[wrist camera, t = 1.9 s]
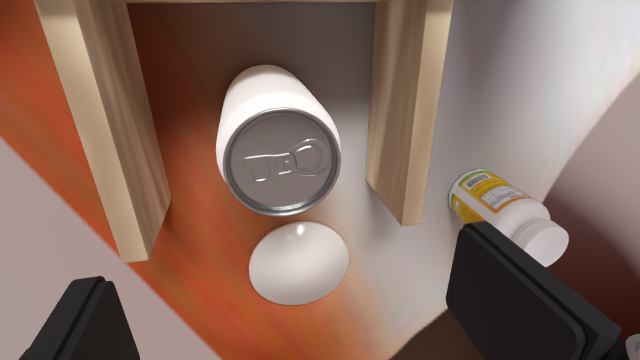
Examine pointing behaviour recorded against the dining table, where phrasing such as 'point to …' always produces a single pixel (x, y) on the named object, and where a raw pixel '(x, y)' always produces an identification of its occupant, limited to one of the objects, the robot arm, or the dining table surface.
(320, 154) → the can
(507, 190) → the supplement bottle
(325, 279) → the coaster
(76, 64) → the wooden arch stand
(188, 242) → the dining table surface
